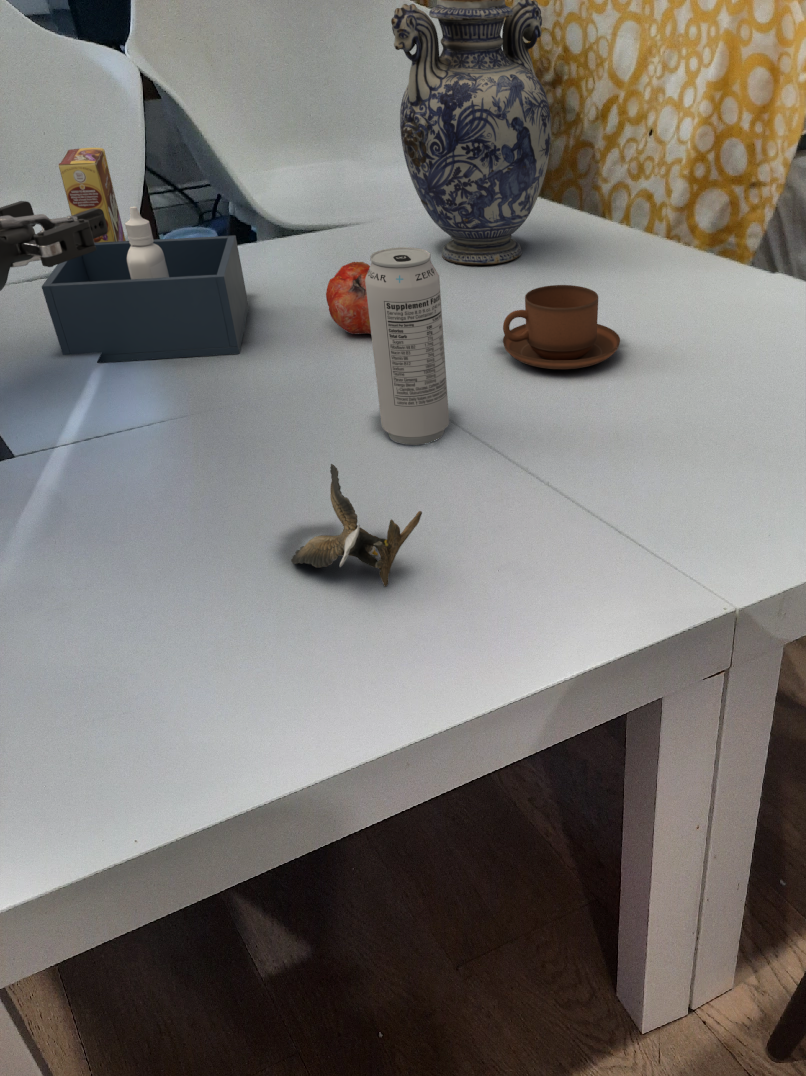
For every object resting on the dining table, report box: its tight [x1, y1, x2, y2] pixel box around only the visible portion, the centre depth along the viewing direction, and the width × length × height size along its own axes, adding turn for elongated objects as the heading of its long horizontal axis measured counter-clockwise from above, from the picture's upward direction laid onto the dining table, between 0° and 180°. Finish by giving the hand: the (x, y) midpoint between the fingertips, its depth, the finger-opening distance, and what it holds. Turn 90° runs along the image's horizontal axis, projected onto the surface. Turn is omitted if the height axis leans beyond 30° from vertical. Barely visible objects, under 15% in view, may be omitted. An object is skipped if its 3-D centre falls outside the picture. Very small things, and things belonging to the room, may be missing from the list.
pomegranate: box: [325, 261, 371, 335], centre depth 109 cm, size 7×7×10 cm
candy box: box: [58, 147, 127, 243], centre depth 116 cm, size 9×4×15 cm, turn 13°
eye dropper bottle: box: [124, 206, 169, 279], centre depth 106 cm, size 4×6×12 cm
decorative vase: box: [390, 0, 552, 266], centre depth 124 cm, size 21×19×28 cm
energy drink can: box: [365, 246, 450, 446], centre depth 86 cm, size 6×6×15 cm
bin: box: [41, 234, 250, 364], centre depth 108 cm, size 18×16×8 cm
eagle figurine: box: [290, 463, 423, 587], centre depth 71 cm, size 8×7×9 cm
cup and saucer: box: [502, 284, 621, 370], centre depth 102 cm, size 12×12×6 cm
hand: (66, 216), depth 96 cm, fingers open, 8 cm apart
